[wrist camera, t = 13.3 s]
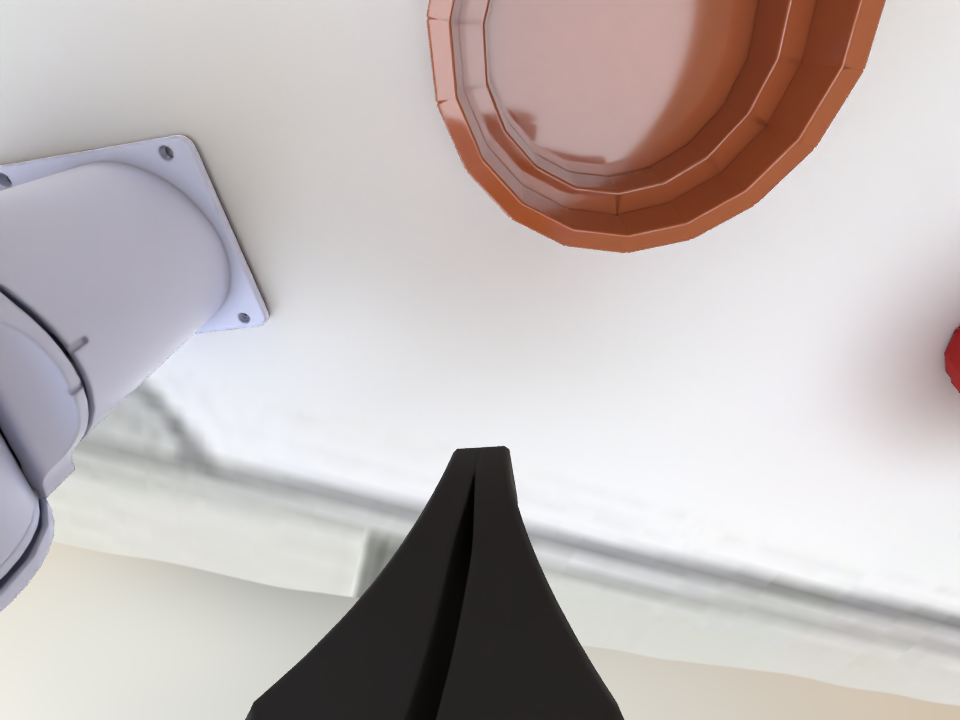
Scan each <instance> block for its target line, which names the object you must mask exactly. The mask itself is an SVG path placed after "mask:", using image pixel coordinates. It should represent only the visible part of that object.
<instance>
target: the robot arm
mask: <svg viewBox="0 0 960 720" xmlns="http://www.w3.org/2000/svg"><path fill="white" fill-rule="evenodd" d="M165 146H167V147H169V148H170V149H171V150H172V152H173V158H171V157H170V156H168V154H167V153H166V150H165ZM6 176H7V177H8V178H9V179H10V180H11V182H9V180H8V179H7V178H6ZM242 313H245V314H247V315H248V316H249V317H250V319H247V318H246V317H244V316H243V314H242ZM268 318H269V314H268V310H267V308H266V306H265V304H264V301H263V299H262V297H261V295H260V292H259V290H258V288H257V285H256V283H255V281H254V279H253V276H252V274H251V272H250V270H249V267H248V265H247V263H246V260H245V258H244V256H243V254H242V251H241V249H240V247H239V244H238V242H237V240H236V238H235V235H234V233H233V231H232V229H231V226H230V224H229V222H228V219H227V217H226V215H225V213H224V210H223V208H222V206H221V204H220V201H219V199H218V197H217V194H216V192H215V190H214V188H213V185H212V183H211V181H210V178H209V176H208V174H207V172H206V169H205V167H204V165H203V163H202V160H201V158H200V156H199V153H198V151H197V149H196V147H195V145H194V144H193V142H192V141H191V140H190V139H189V138H188V137H185V136H183V135H173V136H167V137H162V138H156V139H150V140H144V141H139V142H133V143H127V144H121V145H115V146H110V147H104V148H98V149H92V150H87V151H81V152H75V153H69V154H64V155H58V156H52V157H46V158H40V159H35V160H29V161H23V162H17V163H12V164H6V165H0V612H1V611H2V610H3V609H4V608H5V607H6V606H8V605H9V604H10V603H11V602H12V601H13V600H14V599H15V598H16V596H17V595H18V594H19V593H20V592H21V591H22V590H23V589H24V588H25V587H26V586H27V585H28V583H29V582H30V580H31V579H32V578H33V577H34V575H35V574H36V572H37V571H38V570H39V568H40V567H41V565H42V563H43V561H44V559H45V557H46V556H47V554H48V552H49V549H50V546H51V543H52V540H53V536H54V517H53V513H52V509H51V507H50V505H49V504H48V502H47V500H46V498H47V497H48V496H49V495H50V494H51V493H52V492H53V491H54V490H55V489H56V488H57V487H58V486H59V485H60V484H61V483H62V482H63V481H64V480H65V479H66V478H67V477H68V476H69V475H70V474H71V473H72V472H73V471H74V470H75V466H74V463H73V460H72V453H73V450H74V448H75V447H76V445H77V444H78V443H79V441H80V440H82V439H83V438H84V437H85V436H86V435H87V434H88V433H89V432H90V431H91V430H92V429H93V428H95V427H96V426H97V425H98V424H99V423H100V422H101V421H102V420H103V419H104V418H105V417H106V416H107V415H108V414H109V413H110V412H112V411H113V410H114V409H115V408H116V407H117V406H118V405H119V404H120V403H121V402H122V401H123V400H124V399H125V398H126V397H127V396H128V395H130V394H131V393H132V392H133V391H134V390H135V389H136V388H137V387H138V386H139V385H140V384H141V383H142V382H143V381H144V380H145V379H146V378H148V377H149V376H150V375H151V374H152V373H153V372H154V371H155V370H156V369H157V368H158V367H159V366H160V365H161V364H162V363H163V362H164V361H166V360H167V359H168V358H169V357H170V356H171V355H172V354H173V353H174V352H175V351H176V350H177V349H178V348H179V347H180V346H181V345H182V344H184V343H185V342H186V341H187V340H188V339H189V338H190V337H191V336H192V335H193V334H194V333H202V332H210V331H219V330H228V329H237V328H246V327H255V326H261V325H263V324H264V323H265V322H266V321H267V320H268ZM245 720H624V718H623V716H622V714H621V711H620V709H619V707H618V704H617V702H616V701H615V699H614V698H613V696H612V695H611V693H610V692H609V690H608V688H607V687H606V685H605V684H604V682H603V681H602V679H601V677H600V676H599V674H598V673H597V671H596V670H595V668H594V666H593V665H592V663H591V661H590V660H589V658H588V656H587V654H586V653H585V651H584V649H583V648H582V646H581V644H580V643H579V641H578V639H577V637H576V636H575V634H574V632H573V630H572V628H571V626H570V624H569V623H568V621H567V619H566V617H565V615H564V613H563V612H562V610H561V608H560V606H559V604H558V602H557V600H556V598H555V596H554V594H553V592H552V590H551V588H550V586H549V584H548V582H547V580H546V577H545V575H544V573H543V571H542V569H541V566H540V564H539V562H538V560H537V557H536V555H535V552H534V550H533V547H532V545H531V542H530V540H529V537H528V534H527V532H526V529H525V526H524V523H523V520H522V517H521V514H520V511H519V508H518V501H517V493H516V487H515V481H514V475H513V469H512V463H511V457H510V451H509V449H508V448H506V447H505V446H498V447H481V448H465V449H457V450H456V451H455V452H454V453H453V455H452V457H451V459H450V461H449V463H448V466H447V468H446V470H445V472H444V474H443V476H442V478H441V480H440V481H439V483H438V485H437V487H436V489H435V491H434V493H433V494H432V496H431V498H430V499H429V501H428V503H427V505H426V506H425V508H424V510H423V511H422V513H421V515H420V517H419V518H418V520H417V521H416V523H415V524H414V526H413V528H412V529H411V531H410V532H409V534H408V535H407V537H406V538H405V540H404V541H403V543H402V544H401V546H400V547H399V549H398V550H397V552H396V553H395V554H394V556H393V557H392V559H391V560H390V561H389V563H388V564H387V565H386V567H385V568H384V569H383V570H382V572H381V573H380V574H379V576H378V577H377V578H376V580H375V581H374V582H373V583H372V584H371V586H370V587H369V588H368V589H367V590H366V592H365V593H364V594H363V595H362V596H361V598H360V599H359V600H358V601H357V602H356V604H355V605H354V606H353V607H352V608H351V609H350V610H349V611H348V612H347V614H346V615H345V616H344V617H343V618H342V619H341V620H340V621H339V622H338V623H337V624H336V625H335V626H334V627H333V628H332V629H331V631H329V633H328V634H327V635H326V636H325V637H324V638H323V639H322V640H321V641H320V642H319V643H318V644H317V645H316V646H315V647H314V648H313V649H312V650H311V651H310V652H309V653H308V654H307V655H306V656H305V657H304V658H303V659H302V660H300V661H299V662H298V663H297V664H296V665H295V666H294V667H293V668H292V669H291V670H290V671H288V672H287V673H286V674H285V675H284V676H283V677H282V678H281V679H280V680H278V681H277V682H276V683H275V684H274V685H273V686H272V687H271V688H269V689H268V690H267V691H266V692H265V693H264V694H263V695H262V696H260V697H259V698H258V699H257V700H256V701H255V702H254V703H253V705H252V707H251V710H250V712H249V713H248V715H247V717H246V719H245Z"/></svg>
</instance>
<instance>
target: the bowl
mask: <svg viewBox="0 0 960 720" xmlns="http://www.w3.org/2000/svg"><path fill="white" fill-rule="evenodd" d="M885 1H886V0H429V5H428V10H427V17H428V18H427V27H428V36H429V45H430V54H431V63H432V72H433V81H434V90H435V99H436V102H437V107H438V109H439V111H440V113H441V116H442V118H443V120H444V122H445V125H446V127H447V129H448V131H449V134H450V136H451V138H452V140H453V143H454V145H455V147H456V149H457V152H458V154H459V156H460V158H461V161H462V163H463V165H464V167H465V169H466V170H467V172H468V174H469V175H470V176H471V177H472V178H473V179H474V180H475V181H476V182H477V183H478V184H479V185H480V186H481V187H482V188H483V190H484V191H485V192H486V193H487V194H488V195H489V196H490V197H491V198H492V199H493V200H494V201H495V202H496V203H497V205H498V206H499V207H500V208H501V209H502V210H503V211H504V212H505V213H506V214H507V215H508V216H509V217H511V219H512V220H514V221H516V222H518V223H520V224H522V225H524V226H526V227H528V228H530V229H532V230H534V231H536V232H538V233H540V234H542V235H544V236H546V237H548V238H550V239H552V240H554V241H556V242H558V243H560V244H562V245H564V246H565V245H566V246H569V247H577V248H586V249H594V250H603V251H611V252H620V253H626V252H627V253H630V252H634V251H639V250H644V249H649V248H654V247H658V246H663V245H668V244H673V243H677V242H682V241H687V240H690V239H693V238H695V237H697V236H699V235H701V234H703V233H705V232H706V231H708V230H710V229H712V228H714V227H716V226H718V225H719V224H721V223H723V222H725V221H727V220H729V219H730V218H732V217H734V216H736V215H738V214H740V213H742V212H743V211H745V210H747V209H749V208H751V207H753V206H754V204H756V203H758V202H759V201H760V200H761V199H762V198H763V197H764V196H765V195H766V194H767V193H768V192H769V191H770V190H772V189H773V188H774V187H775V186H776V185H777V184H778V183H779V182H780V181H781V180H782V179H783V178H784V177H785V176H786V175H787V174H788V173H789V172H790V171H792V170H793V169H794V168H795V167H796V166H797V165H798V164H799V163H800V162H801V161H802V160H803V159H804V158H805V157H806V156H807V155H808V154H809V153H810V152H812V151H813V149H814V147H816V146H817V145H818V143H819V142H820V140H821V138H822V137H823V135H824V134H825V132H826V130H827V129H828V127H829V126H830V124H831V122H832V121H833V119H834V118H835V116H836V114H837V113H838V111H839V110H840V108H841V106H842V105H843V103H844V102H845V100H846V98H847V97H848V95H849V94H850V92H851V90H852V89H853V87H854V86H855V84H856V82H857V81H858V79H859V78H860V76H861V74H862V73H863V69H864V68H865V66H866V63H867V60H868V56H869V53H870V50H871V47H872V43H873V40H874V37H875V34H876V30H877V27H878V24H879V20H880V17H881V14H882V11H883V7H884V4H885Z"/></svg>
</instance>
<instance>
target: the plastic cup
mask: <svg viewBox="0 0 960 720" xmlns="http://www.w3.org/2000/svg"><path fill="white" fill-rule="evenodd" d="M945 366H946V372H947V374H948V375H949V376H950V377H951V383H952V384H953V385H954V386H955V387H956V389H957V390H958V391H959V392H960V327H959V328H958V329H957V330H956V331H955V332H954V334H953V336H952V338H951V340H950V343H949V345H948V347H947V349H946V351H945Z"/></svg>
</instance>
